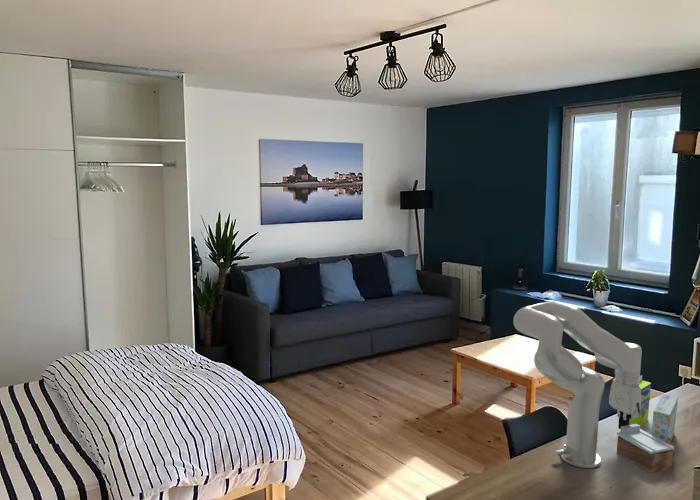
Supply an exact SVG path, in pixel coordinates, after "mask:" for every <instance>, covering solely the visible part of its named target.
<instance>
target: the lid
mask: <svg viewBox="0 0 700 500" xmlns="http://www.w3.org/2000/svg"><path fill="white" fill-rule="evenodd" d="M616 435H617V437H618V436H620V437H621V438H623V439H625V440H627V441H629V442H630V443H632V444H634V445H636V446H637V447H639V448H641V449H643V450H644V451H646V452H648V453H650V454H653V453H658V452H663V451H668V450H672V449H673V450H675V446H674V445H672V444H671V443H670V444H668V443H666V442H664V441H662V440H660V439H658V438H657V437H655V436H653V435H651V433H649V432H647V431H645V430H643V429H642V428H641V425H638V424H632V425H626V426H621V429H619V431H618V432H616Z"/></svg>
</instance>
